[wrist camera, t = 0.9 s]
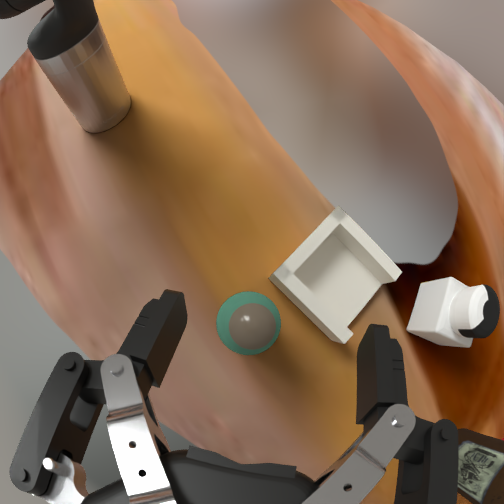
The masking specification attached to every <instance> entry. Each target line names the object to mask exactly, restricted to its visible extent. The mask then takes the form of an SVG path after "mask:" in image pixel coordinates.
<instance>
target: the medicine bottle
mask: <svg viewBox="0 0 504 504" xmlns="http://www.w3.org/2000/svg"><path fill="white" fill-rule="evenodd" d="M499 313H500V306H499V300H498V297H497V295H496V293H495V291H494V290H493V289H492V288H491V287H490V286H488V285H479V286H474V287H468V286H466V285H465V284H463V283H461V282H460V281H458V280H456V279H455V278H453V277H447V278H442V279H438V280H433V281H428V282H424V283H421V284H420V288H419V291H418V295H417V298H416V302H415V305H414V308H413V311H412V314H411V318H410V321H409V324H408V327H407V331H408V332H410V333H413V334H415V335H417V336H419V337H422V338H424V339H426V340H429V341H431V342H433V343H436V344H438V345H444V346H455V347H467V348H469V347H470V346H471V344H472V340H473V338H486V337H488V336H489V335H490V334H491V333H492V332H493V331H494V329H495V328H496V326H497V323H498V320H499Z"/></svg>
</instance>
